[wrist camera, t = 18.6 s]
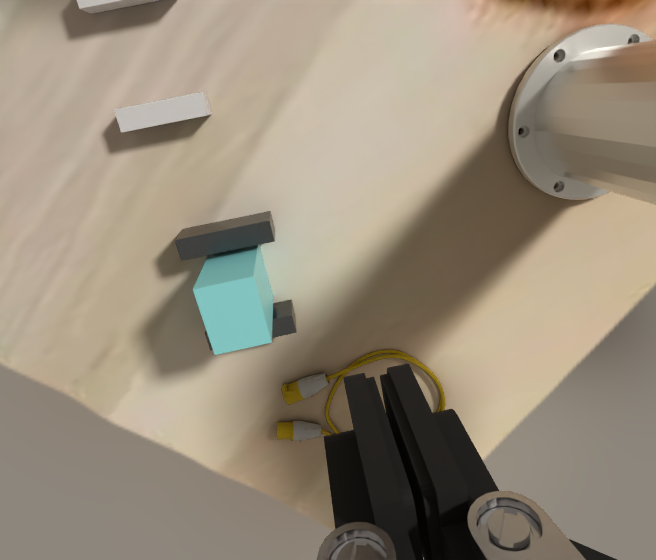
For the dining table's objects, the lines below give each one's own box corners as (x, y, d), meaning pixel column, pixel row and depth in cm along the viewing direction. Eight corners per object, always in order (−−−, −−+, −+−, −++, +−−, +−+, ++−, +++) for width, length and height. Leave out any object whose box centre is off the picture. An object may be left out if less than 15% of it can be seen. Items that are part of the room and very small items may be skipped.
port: (270, 211, 37) (269, 220, 34) (295, 316, 41) (296, 332, 38) (182, 229, 37) (174, 239, 34) (215, 333, 40) (210, 350, 38)
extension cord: (311, 317, 41) (312, 328, 39) (463, 371, 45) (471, 383, 43) (261, 424, 45) (260, 439, 43) (405, 466, 48) (410, 481, 47)
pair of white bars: (173, -30, 31) (167, -38, 29) (211, 114, 34) (207, 115, 32) (82, -13, 30) (69, -19, 29) (130, 130, 34) (121, 132, 32)
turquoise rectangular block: (258, 240, 38) (253, 276, 30) (273, 296, 40) (271, 342, 32) (210, 251, 38) (192, 289, 30) (226, 306, 40) (214, 355, 32)
